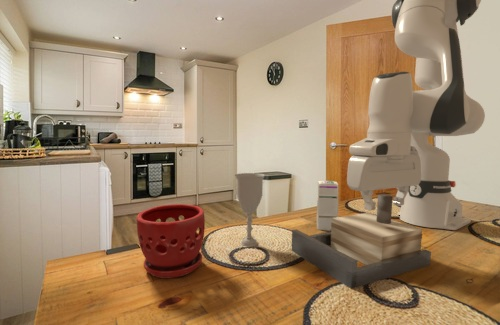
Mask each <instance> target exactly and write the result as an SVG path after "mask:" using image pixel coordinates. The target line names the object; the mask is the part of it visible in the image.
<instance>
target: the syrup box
mask: <svg viewBox="0 0 500 325" xmlns="http://www.w3.org/2000/svg"><path fill="white" fill-rule="evenodd" d="M339 185H340V184H339V183H338V181H336V180H318V181H317V191H316V192H317V196H316V198H317V199H316V209H317V210H316V230H317V231H328V232H331V222H332V218H336V217H339Z"/></svg>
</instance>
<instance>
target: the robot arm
mask: <svg viewBox="0 0 500 325" xmlns="http://www.w3.org/2000/svg"><path fill="white" fill-rule="evenodd" d="M481 3H482V0H396V1H395V2H394V4H393V6H392V7H391V8H392V9H391V22H392V25H393V27H394V43H395V46H396V47H397V49H399V50H400V51H401V52H402V53H404V54H405V55H407V56H409V57H412V58H415V59H416V60H415V69H414V70H415V71H414V82H415V85H416V86H417V87H419V88H420V89H422V90H414V88H413V87H414V86H413V85H414V84H413V77H412V73H411V72H408V71H397V72H396V71H395V72H390V73H383V74H381V73H380V74H378V75H376V76H374V78H373V79H372V82H371V85H370V86H371V87H370V92H369V98H368V110H367V114H368V119H369V125H368V128H367V131H366V137H364V138H363V139H361V140H359V141H355V143H352V144H350V145H349V148H348V152H349V154H350V155H351V157H350V158H349V159H348V163H347V175H346V183H347V187H348V188H349V189H350V190H353V191H355V192H356V191H357V192H360V195H361V198H362V199H363V201H364V210H367V211H375V210H376V209H377V208H376V207H377V204H376V203H377V202H376V201H373V197H372V196H373V195H374V191H378V190H379V191H380V190H389V189H396V190H397V192H396V195H395V196H394V197H393V198H392V205H394V206H396V207H397V206H398V207H400V211H397V214H399V215H400V216H399V219H400V220H401V221H403V222H405V223H406V224H409V225H413V226H418V227H424V228H429V229H431V228H432V229H441V230H442V229H443V230H444V229H445V230H450V231H451V230H452V231H457V230H458V229H461V228H464V226H467V225H469V224H470V223H472V221H471V219H470V218H468V217H465V216H463V204H462V203H461V201H460V200H458V198H456V197H455V196H454V195H453V193H452V188H456V187H457V186H456V185H457V183H456V181H455V180H449V174H450V162H451V159H450V156H449V154H448V153H447V152H446V151H445V150H443V149H441V148H439V147H436V146H435V145H433V144H431V143H430V142H429V140H428V139H429V138H428V137H459V136H465V135H472V134H475V133H476V132H477V131H479V130H480V128H481V127H482V126H483V124H484V123H485V119H486V118H485V116H486V115H485V110H484V108H483V106H482V105H481V103H479V102H478V101H477V100H475V99H473V98H471V97H470V96H469V95H468V94H467V92H466V90H465V83H464V82H465V81H464V70H463V68H464V67H463V63H462V62H463V60H462V49H461V44H460V39H459V32H458V26H457V23H458V22H459V24H460V26H463V25H465V24H466V21H467V20H469V19H470V18H471V17H472V16H473V15H474V14H475V13H476V12H477V10H479V5H480V4H481Z"/></svg>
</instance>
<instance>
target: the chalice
mask: <svg viewBox="0 0 500 325" xmlns="http://www.w3.org/2000/svg"><path fill="white" fill-rule="evenodd" d="M234 176H235V178H236V196H237V200H238V202H239V205H240V207H241V209H242V212H244V213H245V214H246V215H247V218H246V220H245V222H246V227H245V230H246V236H245V237H243V238H242V239H241V241H240V244H241V245H242V246H243V247H250V248H251V247H256V246H257V245H258V242H257V241H258V240H257V239H256V238H255V237H253V236H252V231H253V229H254V228H253V227H252V223H253V219H252V215H253V213H256V211H257V209H258V207H259V205H260V203H261V200H262V198H263V184H264V182H263V180H264V179H265V177H266V175H265V174H263V173H256V172H254V173H253V172H252V173H251V172H248V173H247V172H243V173H236V174H234Z"/></svg>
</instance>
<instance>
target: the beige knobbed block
mask: <svg viewBox="0 0 500 325" xmlns="http://www.w3.org/2000/svg"><path fill="white" fill-rule="evenodd" d="M376 203H377V204H376V207H377V208H376V214H374V213H370V212H364V213H357V214H350V215H344V216H338V217H336V218H332V222H331V231H330V232H331V245H330V247H332V248H334V249H336V250H338V251H340V252H342V253H344V254H346V255H347V256H349V257H351V258H353V259H355V260H357V262H359V263H362V264H363V265H368V264H372V263H376V262H380V261H384V260H387V259H391V258H395V257H399V256H403V255H407V254H410V253H414V252H418V251H422V239H423V228H420V227H417V226H415V225H413V226H412V225H411V224H408V223H403V222H400V221H397V220H393V219H392V211H393V196H392V195H391V194H385V193H384V194H381V193H379V194H377V202H376Z"/></svg>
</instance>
